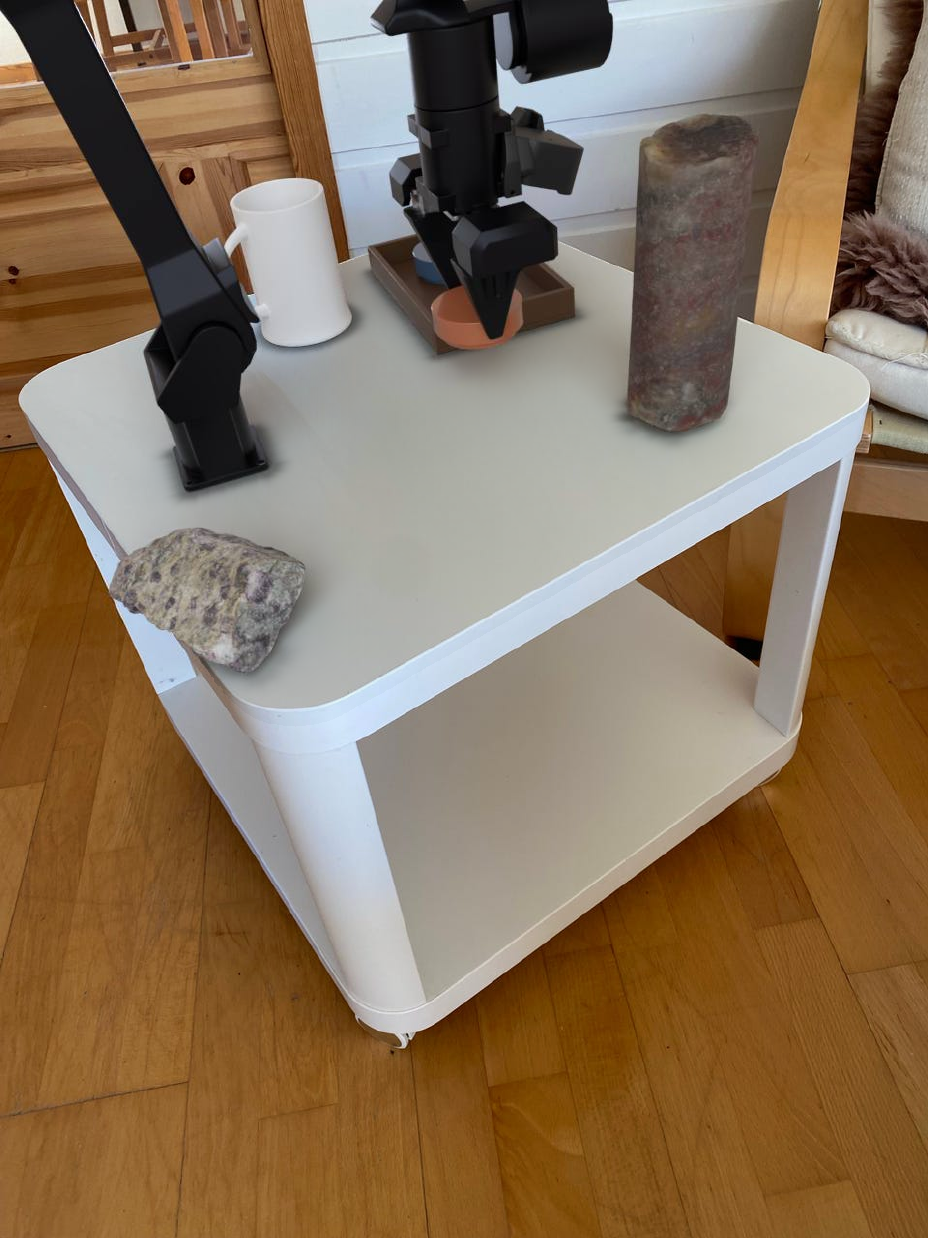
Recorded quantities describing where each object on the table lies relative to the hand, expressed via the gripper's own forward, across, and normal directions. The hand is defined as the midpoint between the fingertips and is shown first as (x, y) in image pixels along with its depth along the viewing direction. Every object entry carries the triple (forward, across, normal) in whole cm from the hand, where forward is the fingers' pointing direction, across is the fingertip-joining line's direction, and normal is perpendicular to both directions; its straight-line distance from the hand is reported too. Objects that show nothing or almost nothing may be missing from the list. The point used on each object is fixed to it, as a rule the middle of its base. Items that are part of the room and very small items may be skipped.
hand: (478, 318), depth 74 cm
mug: (+6, +18, +12) cm, 23 cm away
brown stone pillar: (+6, -12, -11) cm, 17 cm away
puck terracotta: (+1, 0, 0) cm, 1 cm away
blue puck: (+5, +21, -5) cm, 23 cm away
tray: (+6, +17, -5) cm, 19 cm away
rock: (+4, -22, +29) cm, 37 cm away
